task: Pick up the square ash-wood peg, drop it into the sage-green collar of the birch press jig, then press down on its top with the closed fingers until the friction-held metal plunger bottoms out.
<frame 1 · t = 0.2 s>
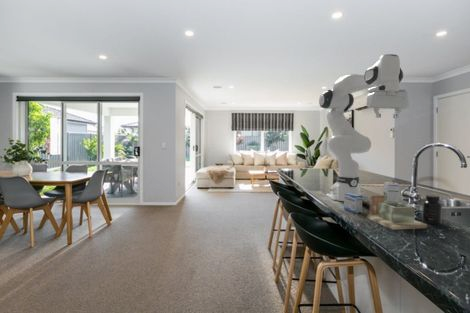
hand: (387, 117, 131), 47 cm above the table, fingers open, 8 cm apart
syrup box: (390, 210, 140), on the table
plunger: (396, 211, 119), point 5 cm above the table, slide at 3.0 cm
medicine box: (352, 211, 138), on the table
press jig: (395, 222, 119), on the table
peg: (376, 215, 130), on the table
supplement bottle: (431, 222, 120), on the table
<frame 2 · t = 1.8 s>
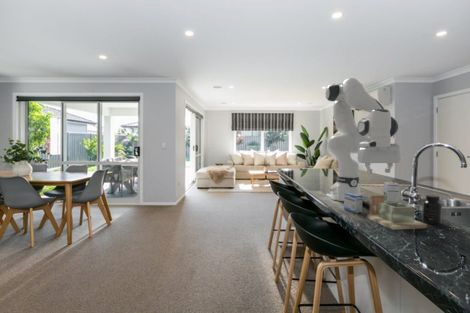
hand: (378, 172, 128), 21 cm above the table, fingers open, 8 cm apart
nothing on the table moved.
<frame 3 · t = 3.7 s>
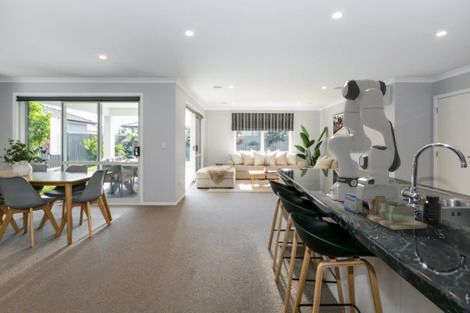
hand: (376, 208, 129), 4 cm above the table, fingers closed on peg, 4 cm apart
peg: (376, 215, 130), on the table, touching gripper
everything else where it was.
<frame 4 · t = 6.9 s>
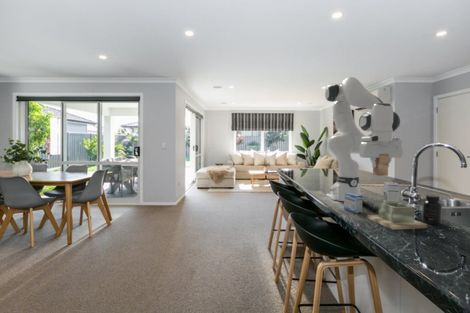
hand: (380, 167, 127), 23 cm above the table, fingers closed on peg, 4 cm apart
peg: (380, 175, 127), point 20 cm above the table, touching gripper
everything else where it was.
when the fingers open (9 cm above the table, at t = 9.8 s): peg stays where it is, resting on plunger.
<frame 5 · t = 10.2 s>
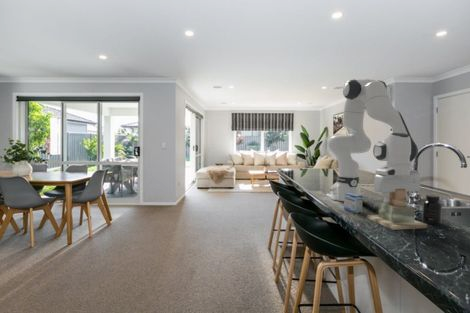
hand: (396, 201, 118), 9 cm above the table, fingers open, 8 cm apart
plunger: (396, 211, 119), point 5 cm above the table, slide at 2.9 cm, touching peg
peg: (396, 210, 119), point 5 cm above the table, touching plunger
everything else where it was.
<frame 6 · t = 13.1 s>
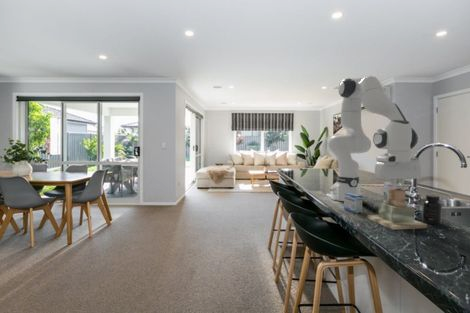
hand: (397, 189, 118), 15 cm above the table, fingers closed, pressing on peg
plunger: (395, 212, 119), point 4 cm above the table, slide at 2.4 cm, touching peg
peg: (396, 211, 119), point 5 cm above the table, touching gripper, plunger
everything else where it was.
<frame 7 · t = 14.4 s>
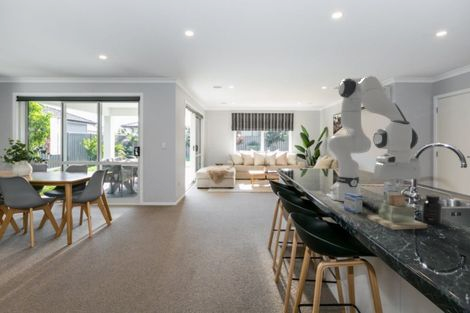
hand: (396, 189, 118), 15 cm above the table, fingers closed
plunger: (395, 218, 119), point 2 cm above the table, slide at 0.0 cm, touching peg
peg: (395, 217, 119), point 3 cm above the table, touching plunger
everything else where it was.
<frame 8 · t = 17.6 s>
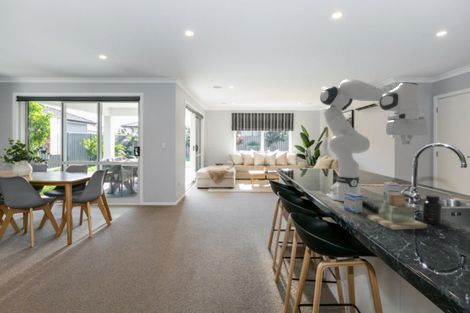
hand: (406, 144, 132), 34 cm above the table, fingers closed
nothing on the table moved.
at the end: plunger slide at 0.0 cm; peg 0.0 cm off-centre on the press jig, point 2.5 cm above the press jig's base; peg tilted 0° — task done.
